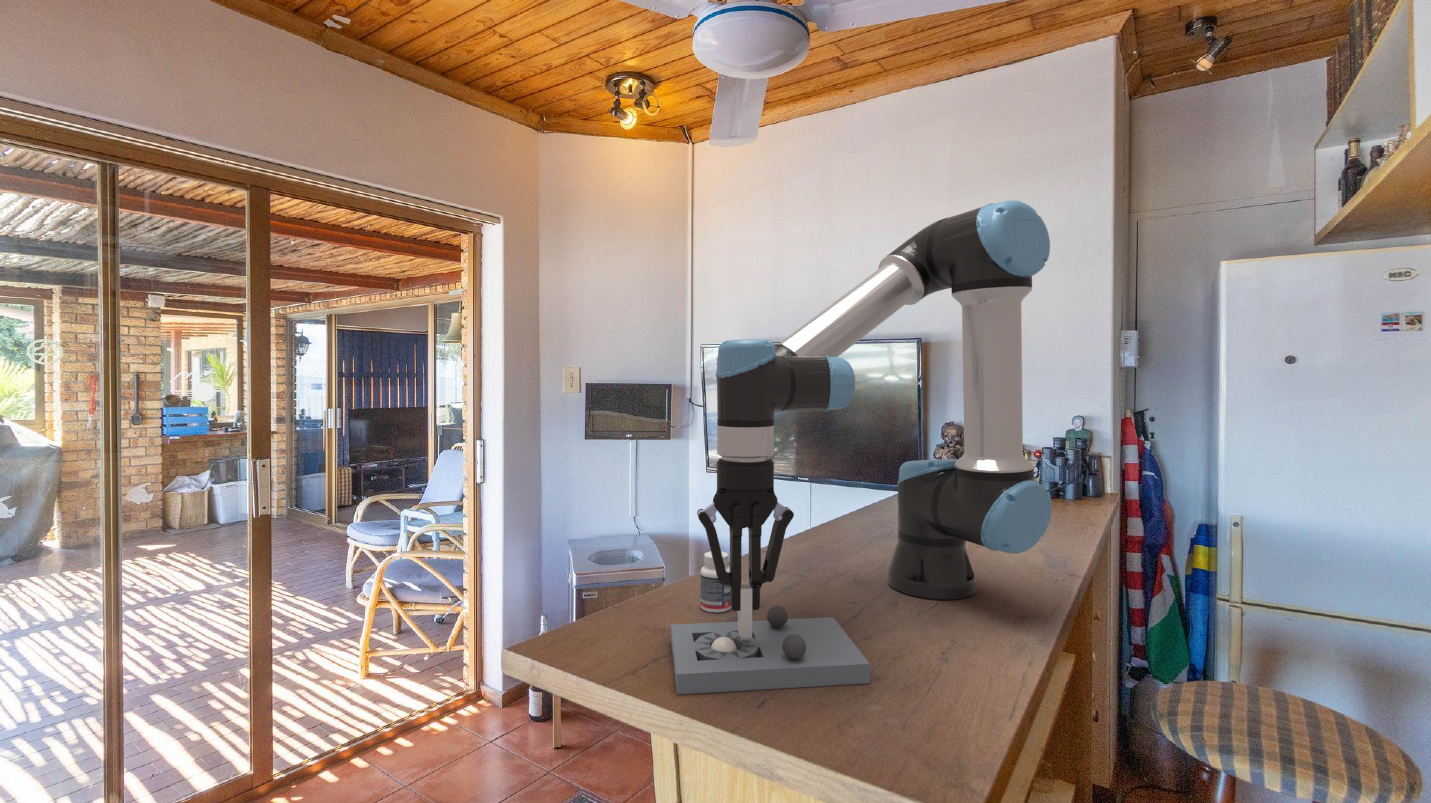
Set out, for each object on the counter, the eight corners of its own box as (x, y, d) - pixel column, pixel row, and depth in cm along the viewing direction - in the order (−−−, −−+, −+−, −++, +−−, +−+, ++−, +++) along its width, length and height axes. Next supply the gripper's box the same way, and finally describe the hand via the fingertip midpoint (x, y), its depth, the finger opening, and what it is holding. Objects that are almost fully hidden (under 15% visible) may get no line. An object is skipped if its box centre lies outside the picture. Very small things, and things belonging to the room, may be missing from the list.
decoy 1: (785, 622, 91) (785, 601, 91) (790, 630, 88) (790, 609, 88) (764, 623, 90) (765, 602, 90) (769, 631, 87) (769, 610, 87)
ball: (728, 627, 85) (704, 638, 84) (732, 641, 81) (708, 653, 81) (738, 648, 85) (714, 659, 85) (742, 663, 82) (718, 675, 82)
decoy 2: (802, 652, 81) (802, 629, 81) (808, 663, 78) (809, 639, 78) (779, 653, 81) (780, 630, 80) (785, 664, 78) (785, 640, 77)
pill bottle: (728, 614, 100) (728, 560, 100) (697, 612, 101) (697, 558, 101) (734, 602, 105) (734, 550, 105) (704, 600, 106) (704, 549, 106)
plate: (833, 633, 93) (833, 617, 93) (869, 683, 78) (869, 663, 78) (671, 641, 90) (671, 624, 90) (676, 694, 75) (676, 674, 75)
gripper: (787, 453, 87) (786, 620, 88) (693, 454, 85) (693, 624, 86) (800, 460, 79) (799, 643, 81) (698, 462, 78) (698, 648, 79)
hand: (744, 633), depth 83 cm, fingers closed
